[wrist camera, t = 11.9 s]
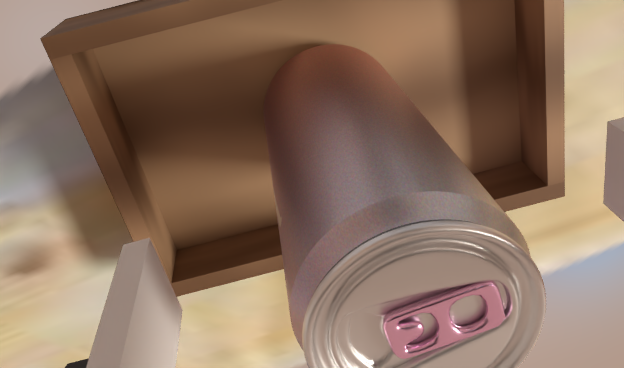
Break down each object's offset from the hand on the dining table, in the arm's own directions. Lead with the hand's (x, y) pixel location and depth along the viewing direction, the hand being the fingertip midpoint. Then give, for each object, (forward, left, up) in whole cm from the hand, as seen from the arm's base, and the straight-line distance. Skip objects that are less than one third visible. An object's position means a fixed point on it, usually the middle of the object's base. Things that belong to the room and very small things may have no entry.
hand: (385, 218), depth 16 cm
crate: (0, 0, -12) cm, 12 cm away
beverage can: (0, 0, -11) cm, 11 cm away
